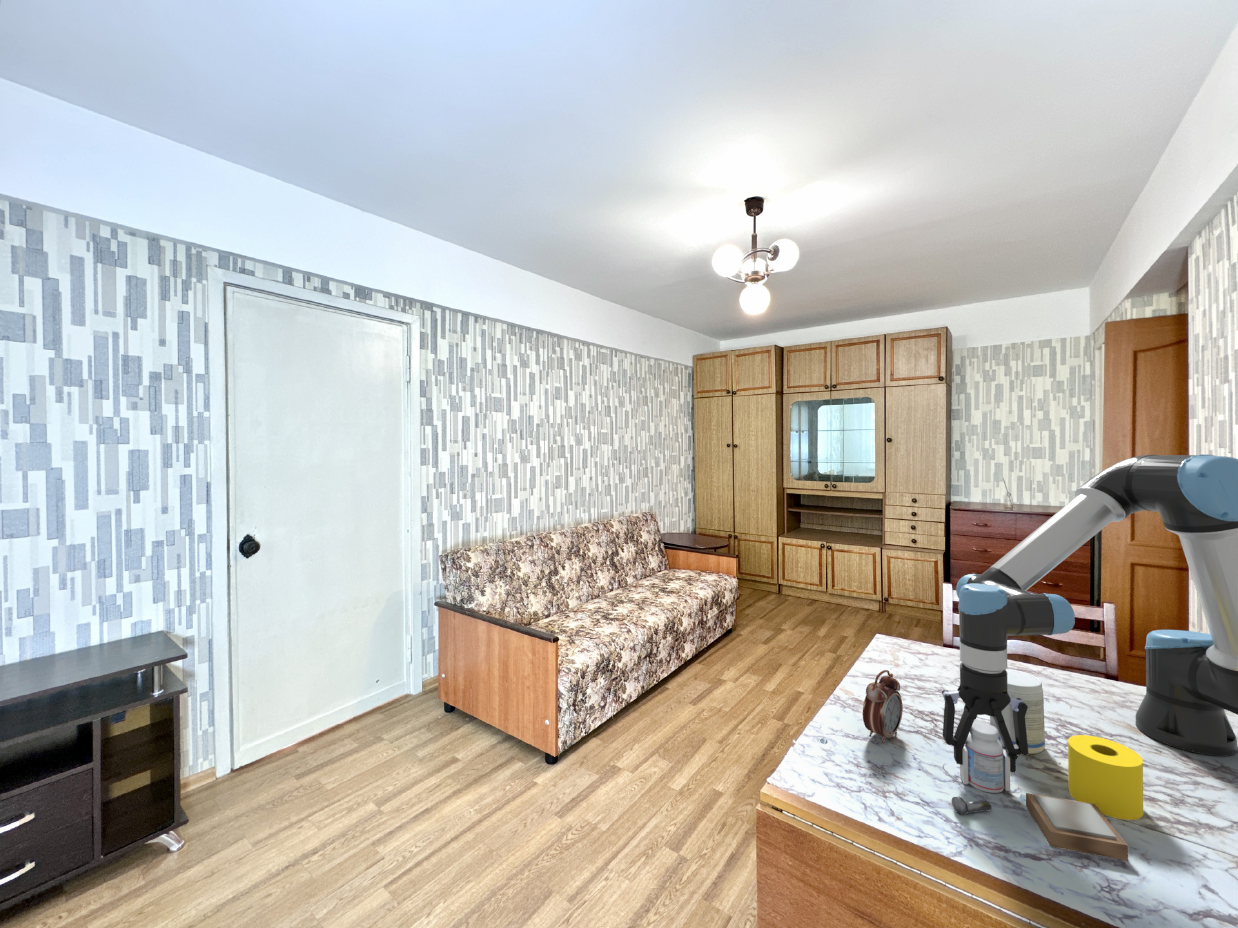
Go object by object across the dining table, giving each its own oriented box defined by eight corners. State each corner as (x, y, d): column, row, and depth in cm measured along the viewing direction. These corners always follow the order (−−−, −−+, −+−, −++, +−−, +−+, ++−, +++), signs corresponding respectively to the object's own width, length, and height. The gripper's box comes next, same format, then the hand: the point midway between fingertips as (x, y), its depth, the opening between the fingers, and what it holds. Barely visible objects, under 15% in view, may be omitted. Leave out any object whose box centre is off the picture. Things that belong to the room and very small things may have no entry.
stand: (1094, 817, 91) (1094, 801, 90) (1128, 860, 81) (1128, 842, 81) (1025, 806, 94) (1025, 790, 94) (1050, 846, 85) (1050, 828, 84)
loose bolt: (981, 804, 95) (981, 790, 95) (993, 814, 92) (993, 799, 92) (951, 807, 94) (951, 793, 94) (962, 817, 92) (962, 803, 92)
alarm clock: (882, 749, 113) (881, 681, 112) (861, 740, 117) (859, 674, 116) (905, 731, 119) (903, 667, 119) (883, 723, 123) (882, 661, 123)
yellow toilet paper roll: (1073, 776, 102) (1072, 729, 102) (1145, 800, 94) (1144, 750, 94) (1064, 800, 95) (1063, 749, 95) (1141, 828, 88) (1140, 774, 88)
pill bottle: (967, 770, 105) (966, 715, 104) (1004, 781, 101) (1003, 725, 100) (963, 786, 100) (962, 729, 100) (1002, 798, 96) (1002, 739, 96)
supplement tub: (1052, 745, 112) (1051, 678, 112) (1035, 761, 107) (1034, 691, 107) (1000, 726, 120) (999, 664, 120) (981, 740, 115) (980, 675, 115)
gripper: (1034, 663, 100) (1035, 780, 101) (922, 653, 106) (924, 763, 107) (1052, 679, 93) (1053, 805, 94) (931, 667, 99) (932, 785, 100)
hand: (984, 782), depth 100 cm, fingers closed on pill bottle, 6 cm apart
